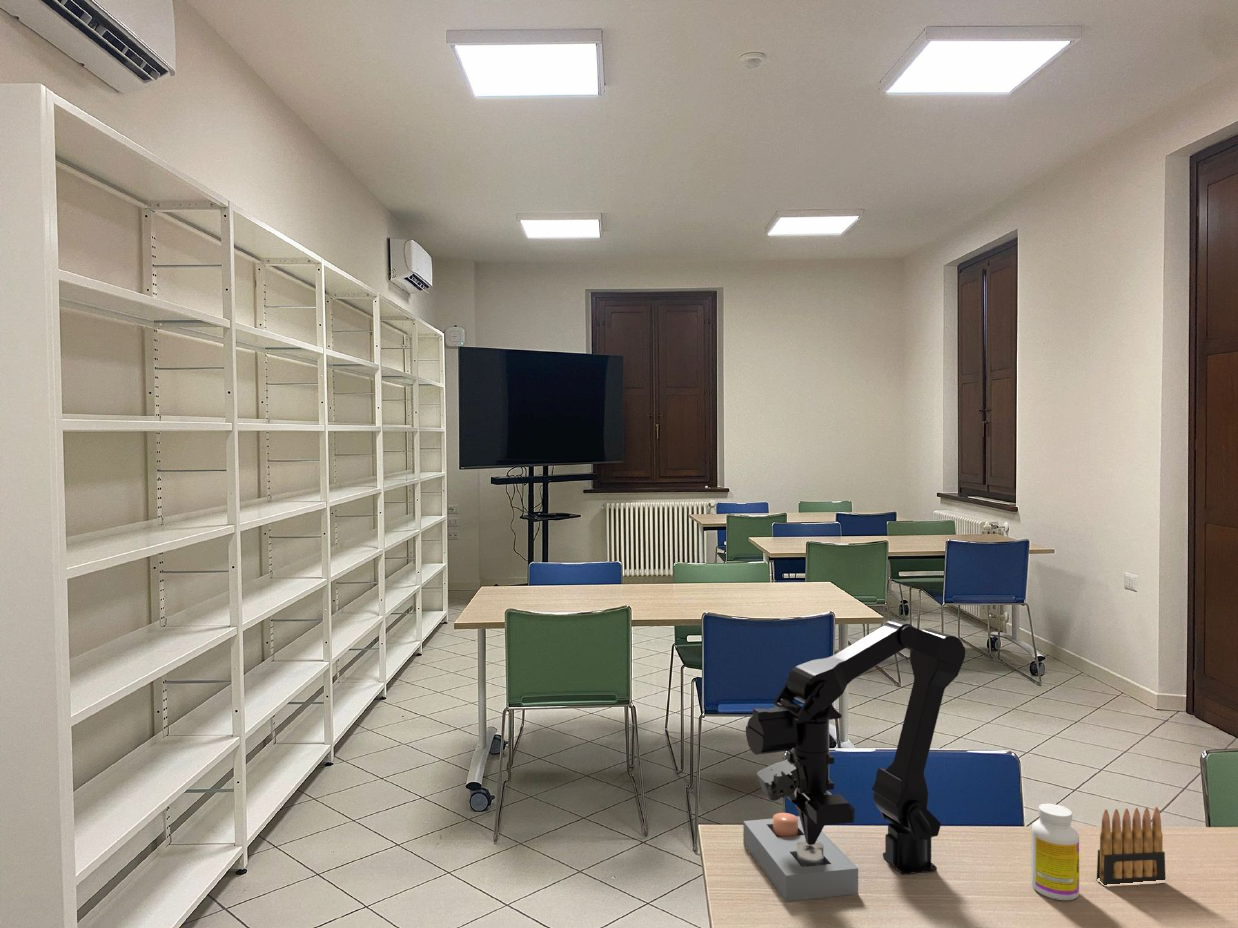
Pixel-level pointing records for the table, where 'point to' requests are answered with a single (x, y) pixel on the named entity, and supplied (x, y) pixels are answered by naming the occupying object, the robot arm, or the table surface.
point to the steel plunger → (810, 853)
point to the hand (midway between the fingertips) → (810, 843)
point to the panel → (789, 874)
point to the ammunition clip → (1131, 848)
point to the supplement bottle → (1055, 853)
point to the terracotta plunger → (785, 825)
